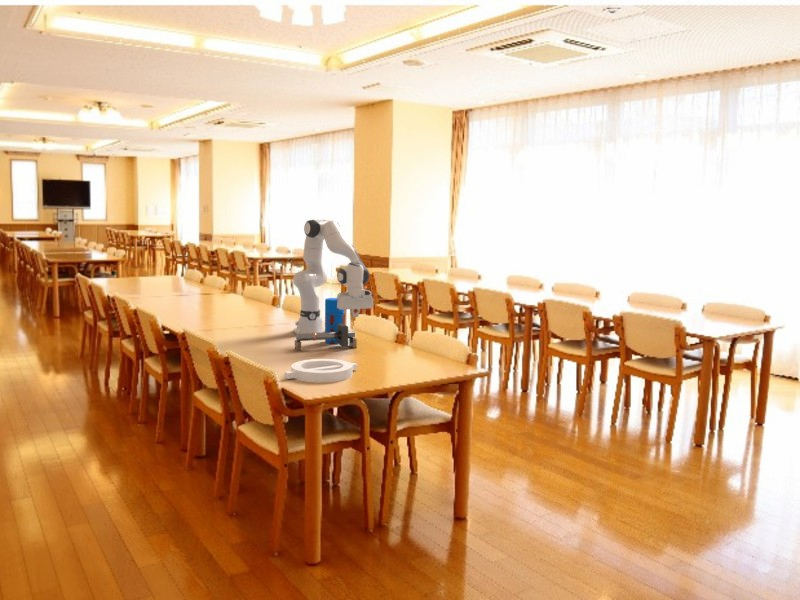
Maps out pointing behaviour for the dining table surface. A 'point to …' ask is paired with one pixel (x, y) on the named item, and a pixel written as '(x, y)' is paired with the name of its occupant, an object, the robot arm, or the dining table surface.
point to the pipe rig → (324, 338)
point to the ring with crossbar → (321, 370)
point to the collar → (343, 335)
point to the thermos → (332, 317)
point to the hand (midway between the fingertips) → (355, 316)
